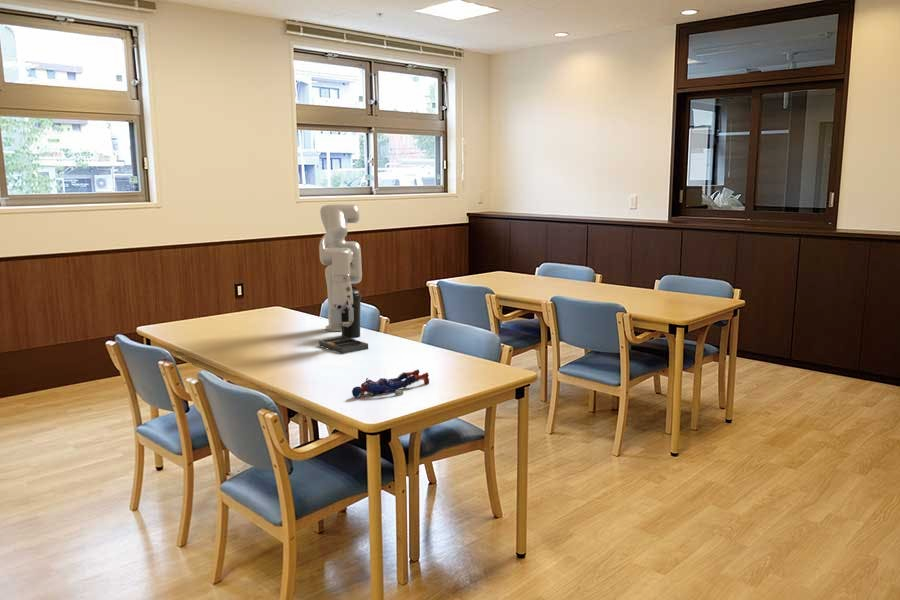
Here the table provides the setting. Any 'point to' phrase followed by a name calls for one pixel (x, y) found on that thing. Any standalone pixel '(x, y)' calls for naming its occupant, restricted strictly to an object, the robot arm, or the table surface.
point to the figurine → (390, 384)
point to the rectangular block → (340, 315)
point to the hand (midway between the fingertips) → (342, 320)
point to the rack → (343, 344)
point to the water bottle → (353, 327)
